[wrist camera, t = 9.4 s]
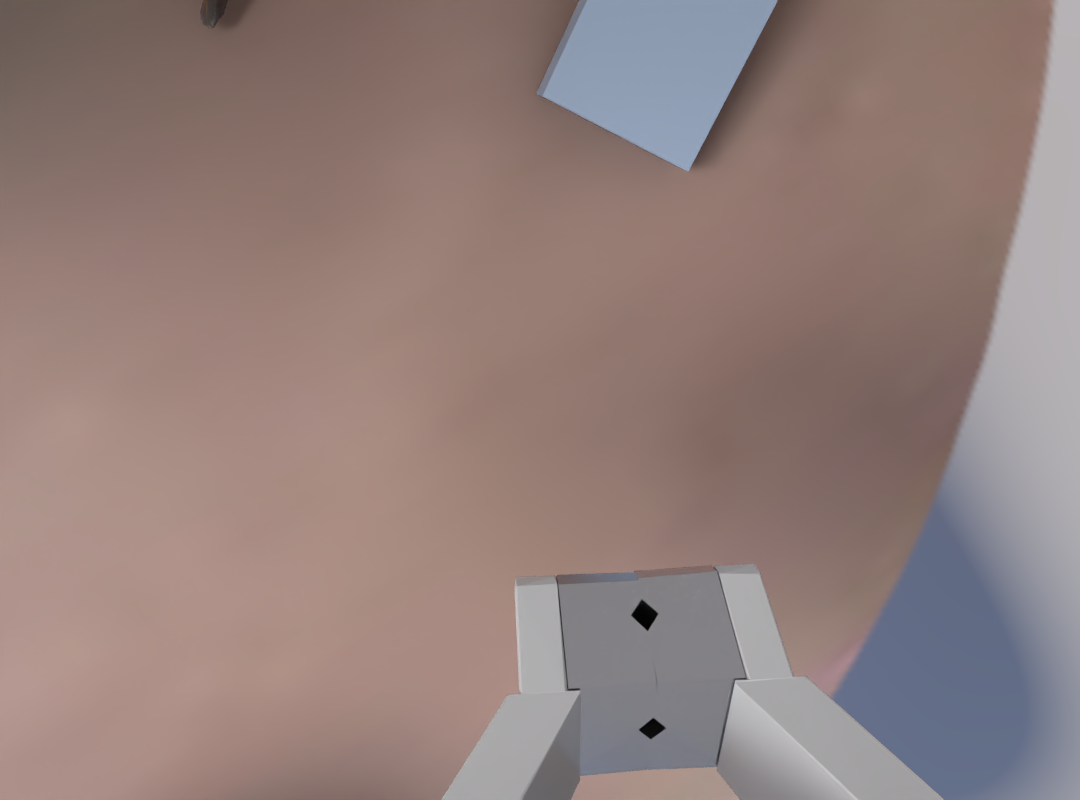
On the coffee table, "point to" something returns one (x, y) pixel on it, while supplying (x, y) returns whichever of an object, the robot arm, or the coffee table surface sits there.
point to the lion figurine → (212, 11)
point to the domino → (654, 68)
